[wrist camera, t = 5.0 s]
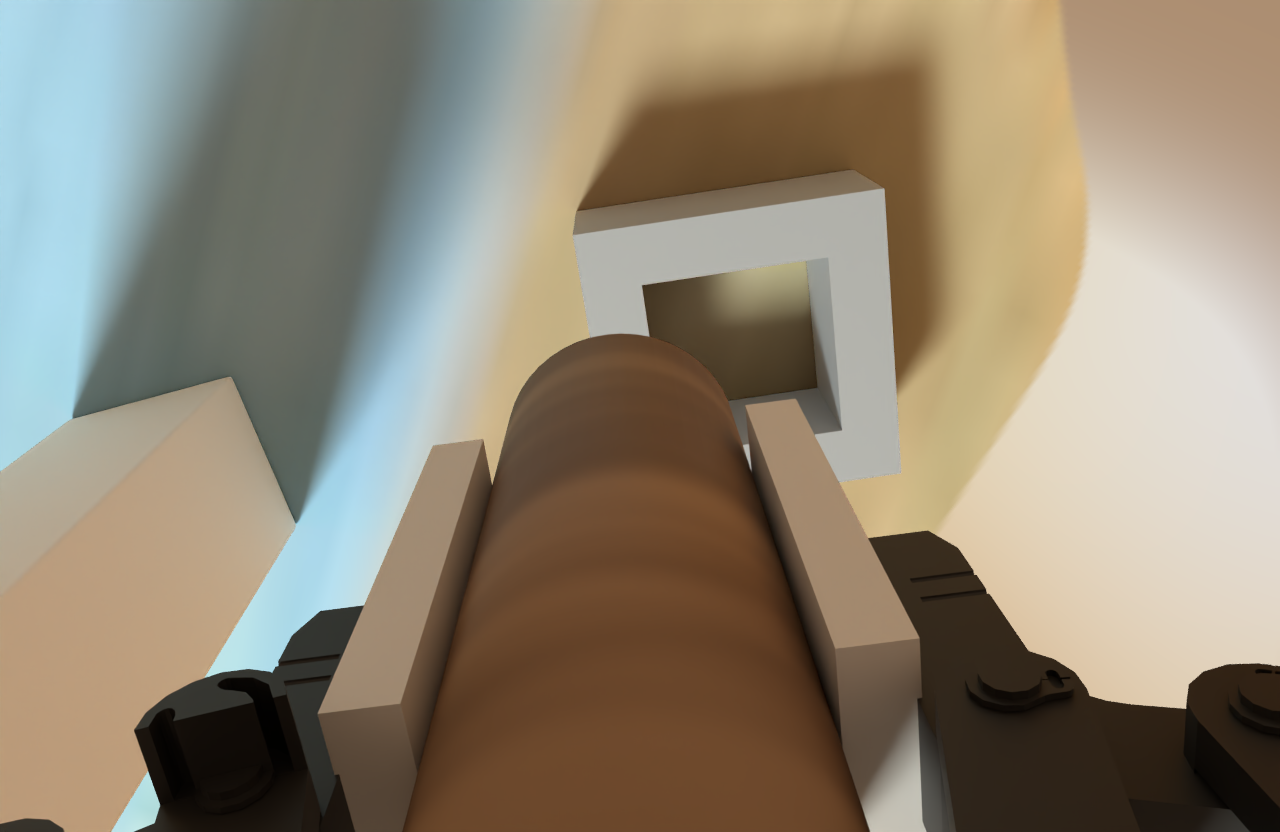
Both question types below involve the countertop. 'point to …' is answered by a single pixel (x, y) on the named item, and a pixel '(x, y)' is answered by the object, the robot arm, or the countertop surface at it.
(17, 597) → the milk
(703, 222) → the socket block
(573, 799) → the peg
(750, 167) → the countertop surface
